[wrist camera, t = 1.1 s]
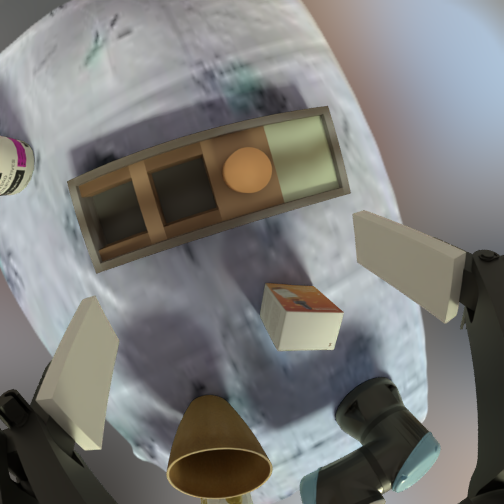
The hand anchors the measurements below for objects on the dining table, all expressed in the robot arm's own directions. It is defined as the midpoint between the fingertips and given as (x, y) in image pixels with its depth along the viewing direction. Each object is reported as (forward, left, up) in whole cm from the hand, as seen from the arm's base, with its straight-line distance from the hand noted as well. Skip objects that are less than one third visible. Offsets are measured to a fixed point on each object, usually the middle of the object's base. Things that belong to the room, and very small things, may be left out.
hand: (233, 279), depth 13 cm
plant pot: (-31, +10, -27) cm, 42 cm away
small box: (-15, -8, -27) cm, 32 cm away
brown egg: (+5, -6, -22) cm, 23 cm away
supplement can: (+18, +26, -27) cm, 41 cm away
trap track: (+5, -2, -26) cm, 27 cm away
